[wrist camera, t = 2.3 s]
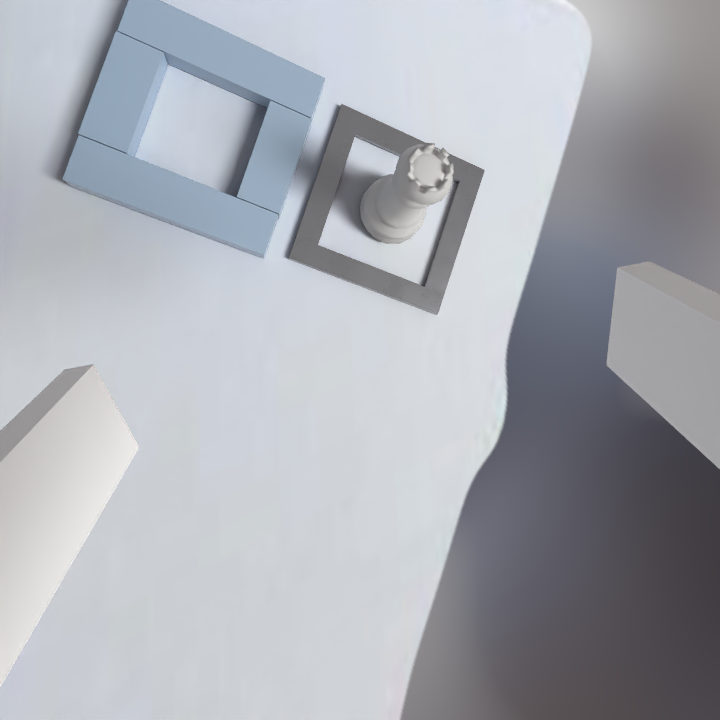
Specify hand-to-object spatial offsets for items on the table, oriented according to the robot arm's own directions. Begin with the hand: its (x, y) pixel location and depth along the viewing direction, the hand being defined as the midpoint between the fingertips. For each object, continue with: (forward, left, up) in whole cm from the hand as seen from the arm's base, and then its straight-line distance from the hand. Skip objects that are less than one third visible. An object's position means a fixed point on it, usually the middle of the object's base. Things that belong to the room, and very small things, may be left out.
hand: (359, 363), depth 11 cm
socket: (-10, +11, -19) cm, 24 cm away
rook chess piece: (+3, +11, -19) cm, 22 cm away
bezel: (+3, +11, -19) cm, 22 cm away
